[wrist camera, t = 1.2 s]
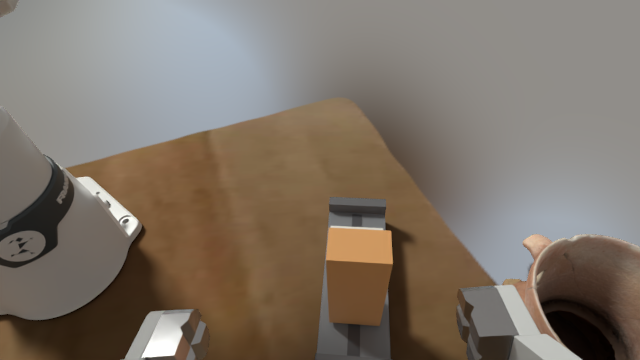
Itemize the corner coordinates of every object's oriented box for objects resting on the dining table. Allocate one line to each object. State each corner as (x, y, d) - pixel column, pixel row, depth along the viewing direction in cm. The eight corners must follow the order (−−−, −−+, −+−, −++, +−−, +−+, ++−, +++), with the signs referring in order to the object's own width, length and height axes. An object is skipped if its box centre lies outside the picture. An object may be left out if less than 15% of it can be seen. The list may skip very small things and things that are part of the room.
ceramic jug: (438, 303, 41) (471, 230, 30) (552, 274, 42) (621, 195, 32) (539, 515, 29) (653, 516, 18) (693, 462, 30) (877, 434, 20)
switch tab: (379, 326, 36) (392, 264, 27) (329, 322, 36) (325, 260, 27) (379, 297, 38) (391, 230, 29) (331, 294, 38) (328, 227, 29)
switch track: (388, 387, 35) (393, 373, 32) (316, 380, 36) (314, 367, 32) (382, 220, 49) (385, 199, 45) (330, 218, 49) (329, 196, 46)
